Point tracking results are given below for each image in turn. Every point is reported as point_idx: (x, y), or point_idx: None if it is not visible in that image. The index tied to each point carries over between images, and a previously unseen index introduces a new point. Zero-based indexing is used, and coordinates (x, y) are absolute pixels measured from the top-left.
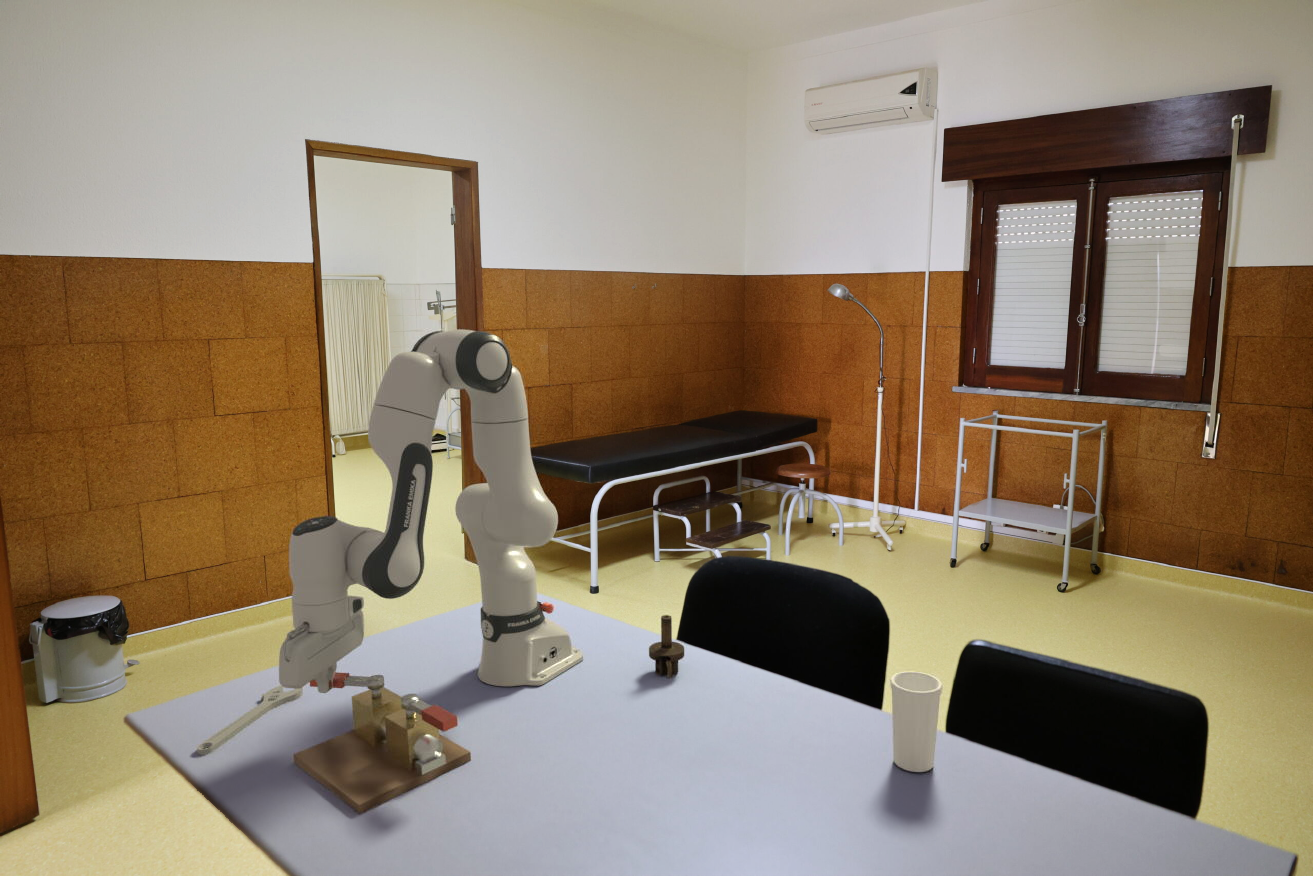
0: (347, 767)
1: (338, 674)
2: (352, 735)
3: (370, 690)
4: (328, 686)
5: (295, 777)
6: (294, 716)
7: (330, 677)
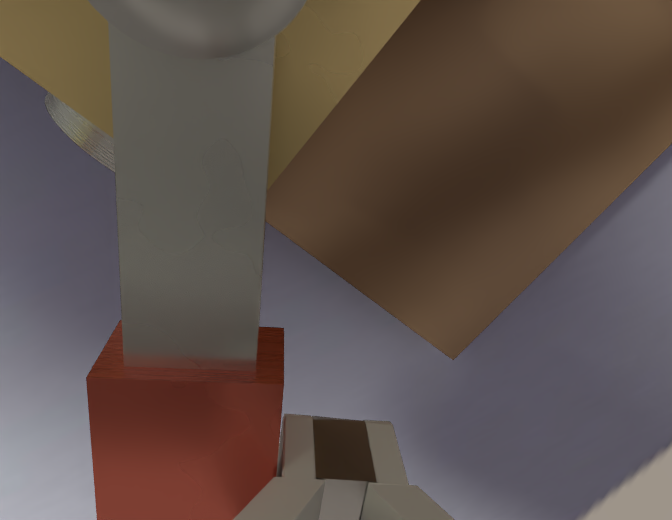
0: (610, 45)
1: (148, 473)
2: None
3: (87, 92)
4: (373, 450)
5: (556, 282)
6: (59, 509)
7: (308, 512)
